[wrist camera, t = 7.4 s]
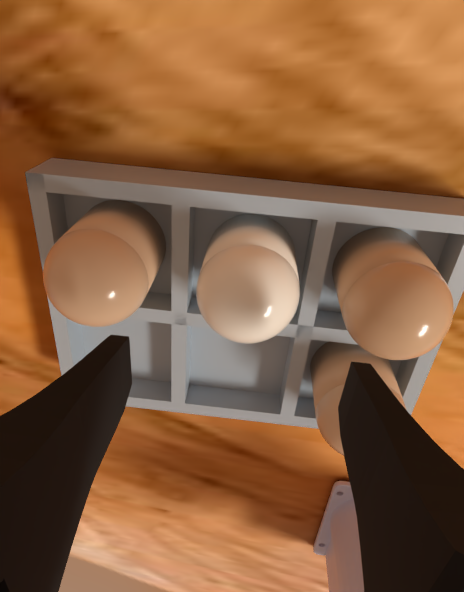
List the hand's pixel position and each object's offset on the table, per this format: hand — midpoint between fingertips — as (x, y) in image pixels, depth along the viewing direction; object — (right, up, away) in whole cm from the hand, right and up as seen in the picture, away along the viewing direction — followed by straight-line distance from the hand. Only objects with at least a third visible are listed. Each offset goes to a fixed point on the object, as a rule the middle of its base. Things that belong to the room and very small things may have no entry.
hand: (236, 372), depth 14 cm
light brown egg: (+1, +4, +7) cm, 9 cm away
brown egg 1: (-6, +5, +8) cm, 11 cm away
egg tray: (+1, +2, +10) cm, 10 cm away
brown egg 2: (+7, +4, +7) cm, 11 cm away
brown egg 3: (+7, -2, +11) cm, 13 cm away
